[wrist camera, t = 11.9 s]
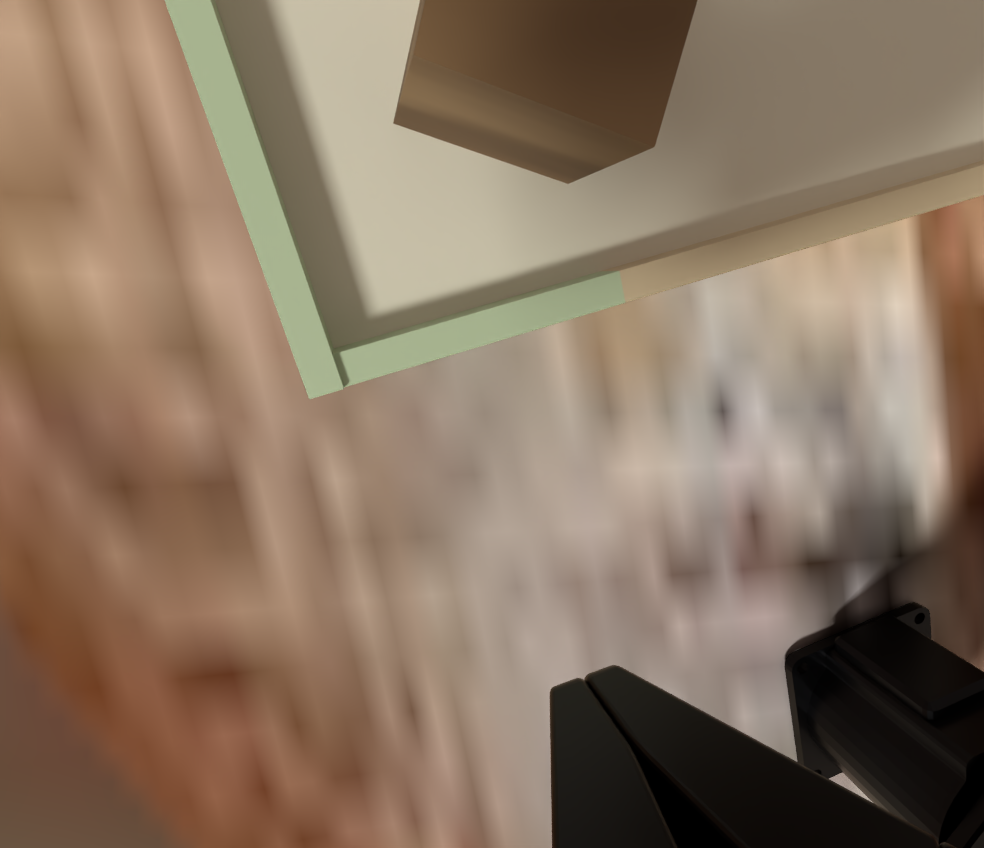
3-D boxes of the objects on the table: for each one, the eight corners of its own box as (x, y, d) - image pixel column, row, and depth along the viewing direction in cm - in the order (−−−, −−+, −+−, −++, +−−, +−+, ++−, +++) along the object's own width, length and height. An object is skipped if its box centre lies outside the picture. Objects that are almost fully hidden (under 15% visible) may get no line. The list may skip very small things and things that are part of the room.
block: (568, 184, 15) (654, 147, 11) (393, 123, 14) (413, 55, 10) (620, -7, 14) (734, -128, 10) (439, -89, 13) (483, -267, 9)
